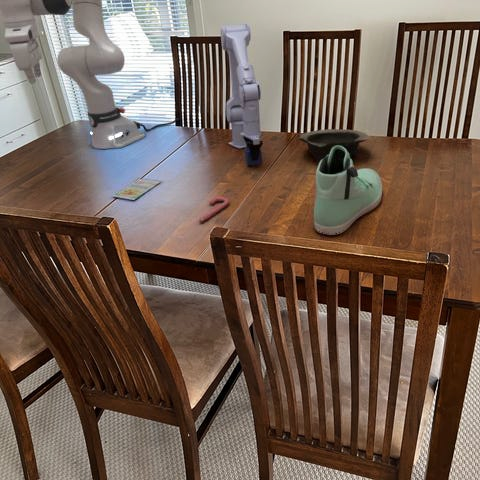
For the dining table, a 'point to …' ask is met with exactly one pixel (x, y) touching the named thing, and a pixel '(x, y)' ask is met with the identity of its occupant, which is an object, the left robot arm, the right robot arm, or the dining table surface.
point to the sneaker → (343, 192)
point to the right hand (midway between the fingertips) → (253, 157)
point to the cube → (249, 159)
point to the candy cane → (215, 208)
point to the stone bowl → (333, 141)
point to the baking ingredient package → (136, 189)
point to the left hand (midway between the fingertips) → (35, 79)
